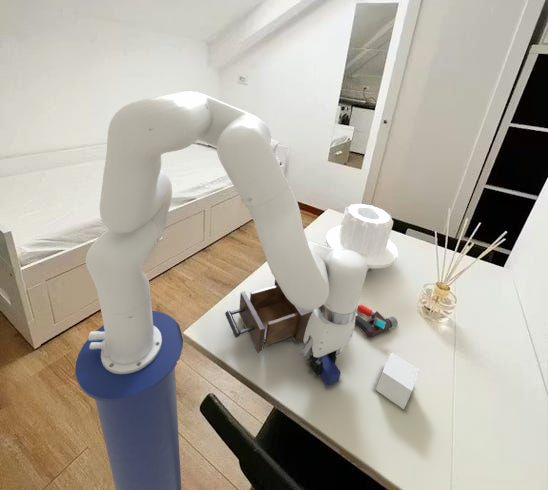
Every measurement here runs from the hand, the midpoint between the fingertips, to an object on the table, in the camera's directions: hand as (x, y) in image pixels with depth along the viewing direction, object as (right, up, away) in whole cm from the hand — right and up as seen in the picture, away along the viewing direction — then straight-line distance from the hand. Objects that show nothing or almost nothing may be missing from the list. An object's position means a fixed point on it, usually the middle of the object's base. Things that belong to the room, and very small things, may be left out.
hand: (321, 366), depth 67 cm
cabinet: (-2, +6, +14) cm, 15 cm away
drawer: (-14, +5, +8) cm, 17 cm away
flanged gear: (+20, +15, +40) cm, 47 cm away
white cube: (+15, -3, -3) cm, 16 cm away
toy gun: (+16, +4, +14) cm, 22 cm away
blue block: (0, 0, 0) cm, 0 cm away
